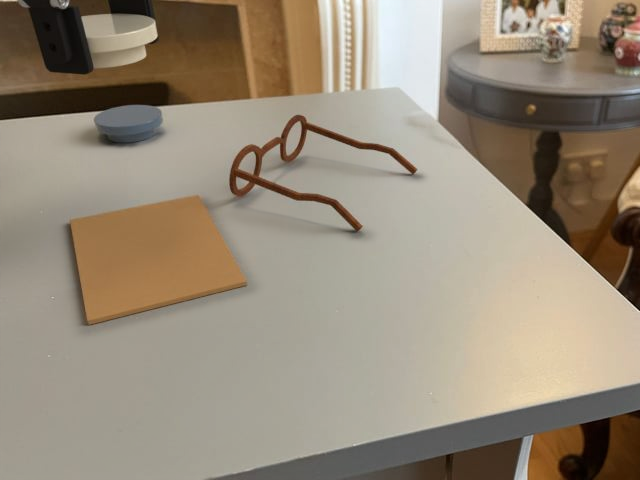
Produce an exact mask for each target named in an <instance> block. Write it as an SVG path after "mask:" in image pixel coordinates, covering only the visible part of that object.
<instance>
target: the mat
mask: <svg viewBox="0 0 640 480" xmlns="http://www.w3.org/2000/svg"><path fill="white" fill-rule="evenodd" d="M69 224H70V228H71V235H72V242H73V247H74V252H75V253H74V254H75V259H76V266H77V272H78V277H79V282H80V289H81V294H82V300H83V303H84V304H83V306H84V311H85V316H86V323H87V324H88V326H89V325H90V326H91V325H94V324H98V323H102V322H106V321H109V320H113V319H119V318H122V317H126V316H130V315H133V314H138V313H142V312H147V311H151V310H154V309H157V308H162V307H165V306H170V305H174V304H178V303H182V302H186V301H190V300H193V299H197V298H201V297H206V296H209V295H214V294H217V293H221V292H226V291H230V290H234V289H238V288H241V287H246V286H247V285H248V281H247V279H246V277H245V276H244V274H243V271H242V270H241V268H240V266H239V265H238V263H237V261H236V260H235V257H234V256H233V254H232V252H231V250H230V249H229V246H228V245H227V243H226V242H225V240H224V238H223V236H222V235H221V233H220V231H219V229H218V227H217V225H216V224H215V222H214V220H213V218H212V216H211V215H210V213H209V211H208V209H207V208H206V206H205V203H204V202H203V201H202V198H201V197H200V195H199V194H195V195H189V196H184V197H180V198H174V199H169V200H164V201H159V202H154V203H148V204H144V205H139V206H134V207H128V208H123V209H118V210H114V211H113V210H112V211H109V212H102V213H97V214H92V215H88V216H83V217H76V218H72V219H69Z"/></svg>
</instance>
